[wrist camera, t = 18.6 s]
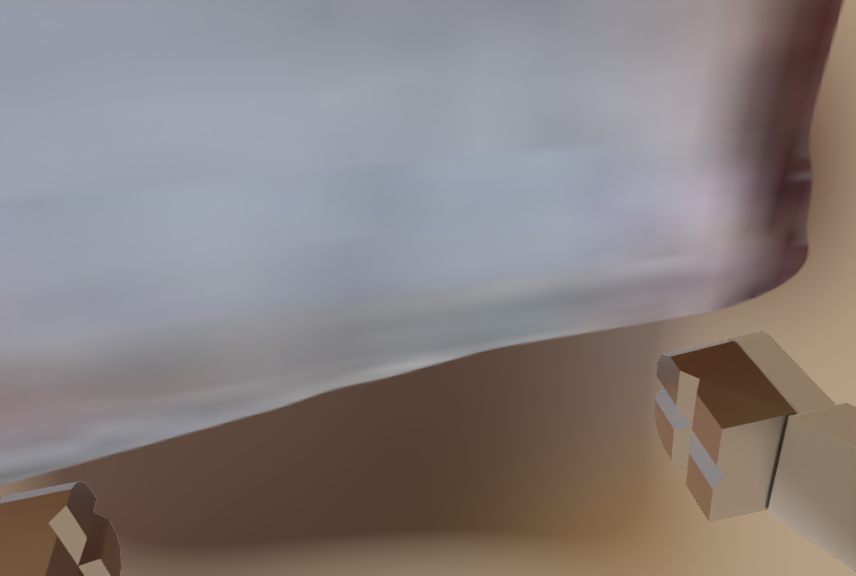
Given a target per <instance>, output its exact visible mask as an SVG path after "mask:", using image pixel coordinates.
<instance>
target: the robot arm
mask: <svg viewBox="0 0 856 576" xmlns="http://www.w3.org/2000/svg"><path fill="white" fill-rule="evenodd" d="M656 376H657V377H658V379H659V381H660V382H661V384H662V385H663V386H664V387H663V389H662V390H661V391H660V392H659V394H658V395H657V396H656V397H655V402H654V417H655V422H656V427H657V432H658V435H659V438H660V440H661V442H662V445H663V447H664V449H665V451H666V452H667V454H668V456H669V457H670V459H671V461H673V462H675V463H677V464H678V465H680V466H682V467H684V468H686V469H687V478H686V486H687V487H688V489H689V491H690V492H691V494H692V496H693V497H694V499H695V500H696V502H697V503H698V505H699V507H700V508H701V510H702V511H703V513H704V515H705V517H706V518H707V520H708V521H709V522H710V521H715V520H720V519H724V518H729V517H734V516H739V515H743V514H748V513H753V512H758V511H763V510H768V511H767V513H769V514H770V515H772V516H773V517H775V518H776V519H778V520H779V521H781V522H782V523H784V524H785V525H787V526H788V527H790V528H791V529H793V530H794V531H796V532H797V533H799V534H800V535H802V536H803V537H805V538H806V539H808V540H809V541H811V542H812V543H814V544H815V545H817V546H818V547H820V548H821V549H823V550H824V551H826V552H827V553H829V554H831V555H832V556H833V557H835V558H836V559H838V560H839V561H841V562H842V563H844V564H845V565H847V566H849V567H850V568H851V569H853V570H855V571H856V407H854V406H852V405H850V404H847V403H845V404H840V405H835V403H834V402H833V401H832V400H831V399H830V398H829V397H828V396H827V395H826V394H825V393H824V392H823V391H822V390H821V389H820V388H819V387H818V385H817V384H816V383H815V382H814V381H813V380H812V379H811V378H810V377H809V376H808V375H807V374H806V373H805V372H804V371H803V370H802V369H801V368H800V367H799V365H798V364H797V363H796V362H795V361H794V360H793V359H792V358H791V357H790V356H789V355H788V354H787V353H786V352H785V351H784V350H783V349H782V348H781V346H780V345H779V344H778V343H777V342H776V341H775V340H774V339H773V338H772V337H771V336H770V335H768V334H766V333H764V332H762V331H761V332H757V333H753V334H748V335H744V336H739V337H735V338H731V339H728V340H723V341H719V342H714V343H710V344H705V345H701V346H697V347H693V348H688V349H684V350H679V351H674V352H670V353H666V354H661V356H660V358H659V361H658V362H657V373H656ZM96 499H97V498H96V497H95V495H94V494H93V492H92V491H91V489H90V488H89V486H88V485H87V483H84V482H74V483H69V484H64V485H58V486H53V487H48V488H42V489H38V490H32V491H27V492H22V493H17V494H11V495H6V496H4V497H1V498H0V576H120V572H121V555H120V545H119V541H118V538H117V535H116V531H115V530H114V528H113V526H112V524H111V522H110V521H109V520H108V519H107V518H104V517H102V516H100V515H98V514H96V513H94V512H93V511H94V507H95V503H96Z"/></svg>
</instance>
